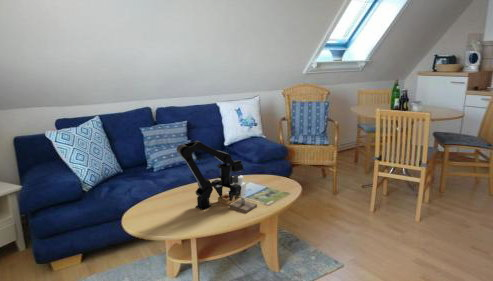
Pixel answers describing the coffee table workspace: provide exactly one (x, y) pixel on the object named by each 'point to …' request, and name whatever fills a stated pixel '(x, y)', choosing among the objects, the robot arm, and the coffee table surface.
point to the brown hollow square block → (225, 199)
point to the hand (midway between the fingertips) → (226, 199)
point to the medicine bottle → (243, 186)
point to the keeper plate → (243, 205)
